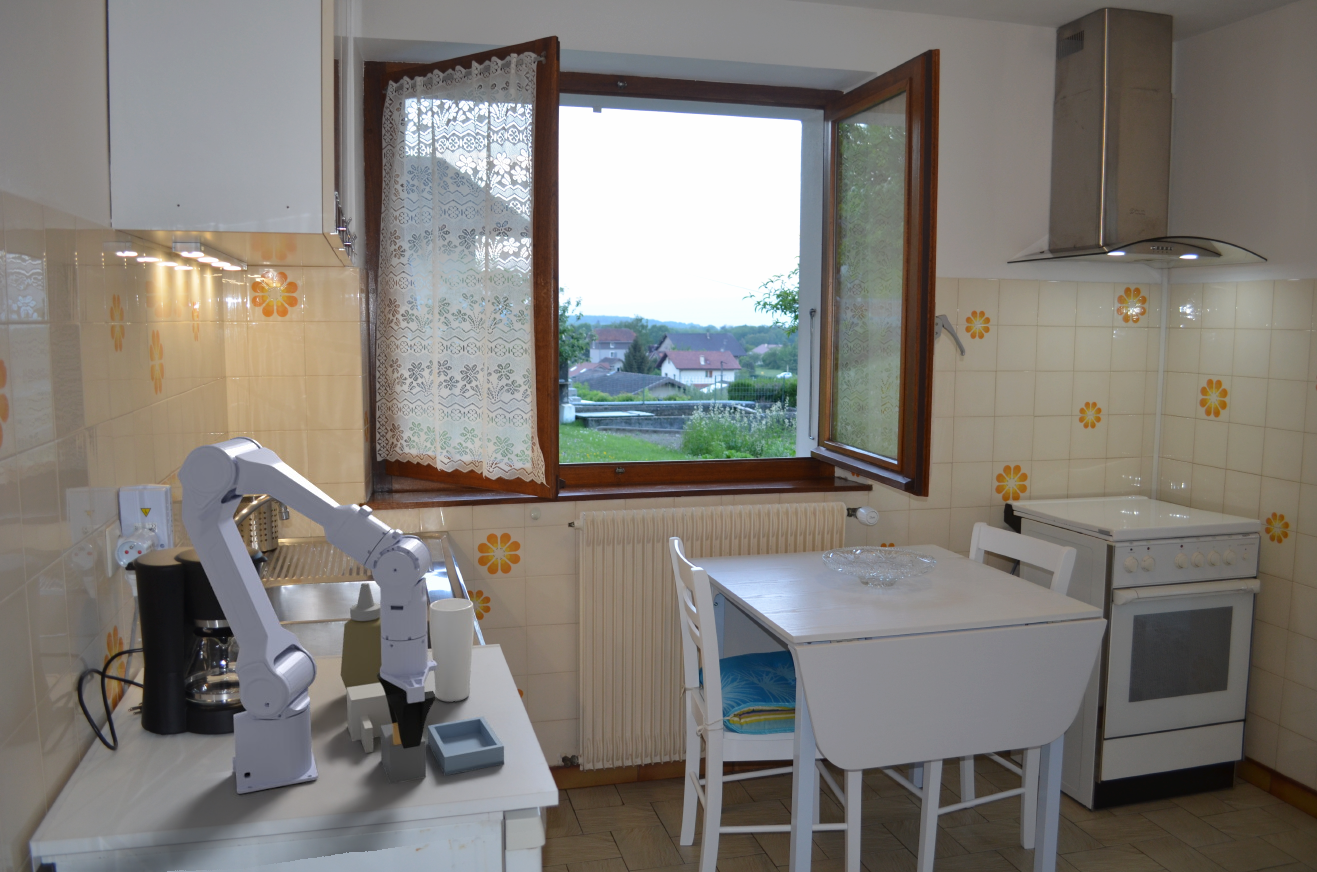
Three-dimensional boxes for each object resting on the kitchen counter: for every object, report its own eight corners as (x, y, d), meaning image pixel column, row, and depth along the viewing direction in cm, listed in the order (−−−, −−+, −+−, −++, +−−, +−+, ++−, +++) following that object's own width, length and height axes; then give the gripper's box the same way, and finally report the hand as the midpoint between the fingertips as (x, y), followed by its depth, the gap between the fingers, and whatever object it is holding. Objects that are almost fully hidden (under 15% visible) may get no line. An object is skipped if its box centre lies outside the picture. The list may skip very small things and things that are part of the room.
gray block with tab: (381, 760, 125) (380, 707, 124) (415, 754, 127) (414, 702, 126) (390, 784, 119) (389, 728, 118) (425, 777, 121) (425, 722, 120)
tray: (445, 775, 121) (444, 757, 121) (428, 742, 130) (427, 725, 130) (504, 763, 124) (503, 745, 124) (483, 732, 134) (483, 716, 133)
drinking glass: (464, 706, 143) (463, 612, 141) (423, 702, 144) (421, 608, 142) (481, 690, 149) (480, 599, 147) (441, 686, 151) (440, 596, 149)
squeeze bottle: (365, 709, 141) (362, 594, 139) (330, 697, 145) (326, 585, 143) (405, 691, 148) (403, 581, 146) (370, 681, 152) (367, 574, 150)
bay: (357, 754, 127) (355, 712, 126) (347, 727, 135) (346, 687, 134) (430, 741, 131) (430, 700, 130) (417, 715, 139) (416, 676, 139)
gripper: (448, 647, 113) (450, 753, 115) (424, 613, 126) (425, 709, 128) (389, 655, 110) (391, 764, 112) (370, 620, 123) (372, 717, 125)
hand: (406, 735), depth 120 cm, fingers open, 6 cm apart
